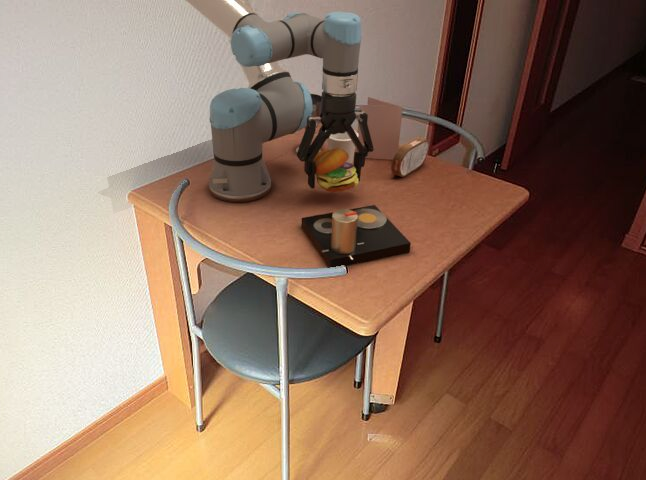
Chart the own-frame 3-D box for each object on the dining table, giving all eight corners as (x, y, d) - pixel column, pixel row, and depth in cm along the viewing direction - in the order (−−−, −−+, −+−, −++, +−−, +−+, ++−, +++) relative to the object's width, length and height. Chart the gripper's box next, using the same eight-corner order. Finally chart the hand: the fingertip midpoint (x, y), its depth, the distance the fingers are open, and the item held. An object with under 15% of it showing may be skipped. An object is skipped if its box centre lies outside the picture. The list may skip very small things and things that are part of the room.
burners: (307, 219, 121) (307, 218, 121) (376, 207, 126) (376, 205, 126) (321, 239, 115) (321, 237, 115) (393, 225, 120) (393, 223, 120)
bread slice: (418, 160, 154) (422, 131, 149) (428, 163, 152) (432, 134, 147) (388, 178, 144) (391, 148, 139) (398, 182, 142) (402, 152, 137)
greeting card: (398, 159, 154) (404, 106, 145) (383, 167, 149) (388, 113, 141) (366, 147, 160) (369, 96, 151) (350, 155, 155) (353, 102, 147)
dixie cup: (361, 166, 150) (363, 131, 144) (347, 178, 143) (350, 142, 138) (333, 159, 153) (334, 125, 147) (319, 171, 147) (320, 135, 141)
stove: (298, 227, 123) (298, 217, 122) (373, 214, 129) (374, 204, 127) (330, 274, 109) (330, 263, 108) (413, 256, 115) (414, 246, 113)
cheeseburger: (356, 197, 127) (348, 157, 122) (312, 201, 130) (302, 162, 125) (362, 177, 135) (355, 139, 130) (320, 181, 138) (311, 144, 133)
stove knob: (336, 256, 110) (338, 222, 105) (327, 243, 114) (328, 210, 109) (359, 251, 111) (362, 218, 107) (349, 238, 115) (351, 206, 111)
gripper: (293, 102, 113) (292, 197, 125) (395, 92, 120) (384, 182, 133) (282, 90, 118) (282, 182, 131) (380, 81, 125) (371, 169, 138)
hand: (333, 182), depth 132 cm, fingers closed on cheeseburger, 11 cm apart
